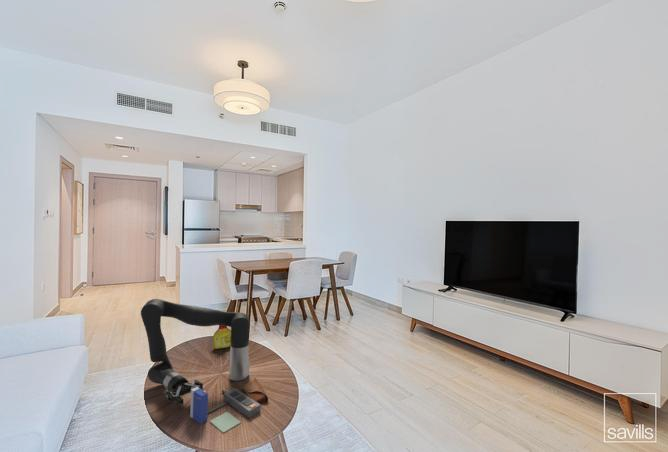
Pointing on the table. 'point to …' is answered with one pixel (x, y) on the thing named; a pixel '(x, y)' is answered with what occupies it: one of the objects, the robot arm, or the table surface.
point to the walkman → (198, 405)
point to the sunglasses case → (255, 391)
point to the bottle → (222, 337)
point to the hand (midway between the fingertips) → (192, 397)
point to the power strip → (239, 403)
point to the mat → (225, 422)
